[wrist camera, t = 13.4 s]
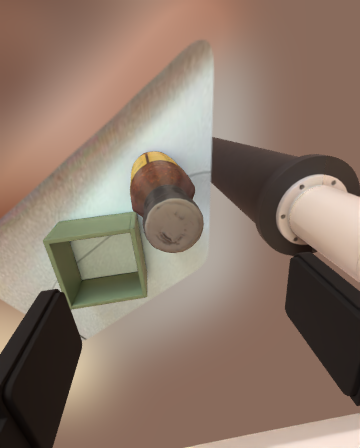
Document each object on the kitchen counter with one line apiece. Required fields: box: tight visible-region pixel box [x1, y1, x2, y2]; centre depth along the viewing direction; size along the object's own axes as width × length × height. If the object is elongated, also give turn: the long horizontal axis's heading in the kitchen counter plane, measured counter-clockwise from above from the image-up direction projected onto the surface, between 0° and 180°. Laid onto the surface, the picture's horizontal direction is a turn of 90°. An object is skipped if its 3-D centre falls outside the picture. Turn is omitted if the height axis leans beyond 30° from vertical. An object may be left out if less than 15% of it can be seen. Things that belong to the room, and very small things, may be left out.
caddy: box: [43, 212, 147, 310], centre depth 35 cm, size 11×11×6 cm
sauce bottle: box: [130, 152, 204, 253], centre depth 25 cm, size 6×6×20 cm
